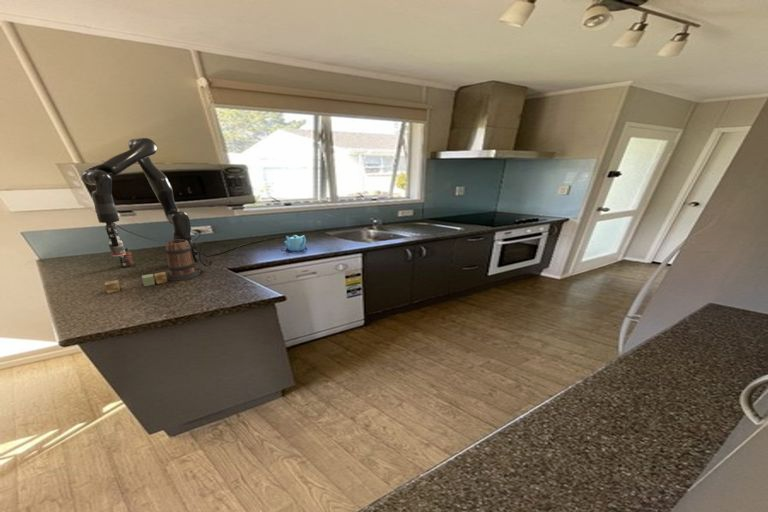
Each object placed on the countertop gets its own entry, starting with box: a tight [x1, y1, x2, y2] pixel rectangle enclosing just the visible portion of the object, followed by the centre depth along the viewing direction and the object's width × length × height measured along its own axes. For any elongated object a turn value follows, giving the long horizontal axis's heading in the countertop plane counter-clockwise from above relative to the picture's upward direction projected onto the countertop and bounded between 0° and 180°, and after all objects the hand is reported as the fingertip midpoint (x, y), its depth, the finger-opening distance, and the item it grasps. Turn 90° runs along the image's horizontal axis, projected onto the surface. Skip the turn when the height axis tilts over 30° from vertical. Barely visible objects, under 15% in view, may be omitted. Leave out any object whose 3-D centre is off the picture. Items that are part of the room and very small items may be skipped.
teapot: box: [283, 234, 307, 252], centre depth 215 cm, size 15×15×11 cm
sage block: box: [141, 273, 156, 287], centre depth 152 cm, size 5×5×5 cm
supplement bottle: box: [118, 247, 135, 268], centre depth 175 cm, size 6×6×11 cm
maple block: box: [154, 271, 168, 285], centre depth 155 cm, size 5×5×5 cm
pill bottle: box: [107, 235, 126, 258], centre depth 146 cm, size 5×5×10 cm
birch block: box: [104, 279, 121, 294], centre depth 143 cm, size 5×5×5 cm
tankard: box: [164, 239, 213, 281], centre depth 164 cm, size 24×17×20 cm
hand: (116, 245), depth 146 cm, fingers closed on pill bottle, 5 cm apart
